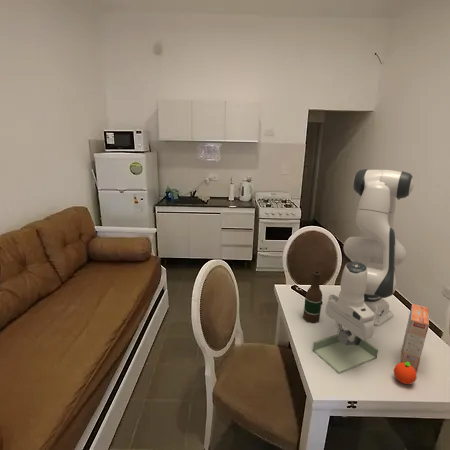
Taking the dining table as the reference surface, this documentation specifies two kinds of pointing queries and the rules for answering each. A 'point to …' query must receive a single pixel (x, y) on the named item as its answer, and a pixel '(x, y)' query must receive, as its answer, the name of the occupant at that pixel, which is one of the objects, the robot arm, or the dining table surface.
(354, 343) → the bracket
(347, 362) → the tray
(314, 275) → the beer bottle
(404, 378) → the clementine
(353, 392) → the dining table surface
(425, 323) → the cracker box
